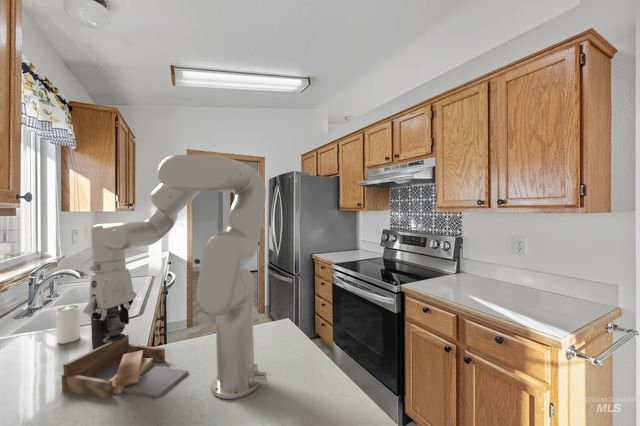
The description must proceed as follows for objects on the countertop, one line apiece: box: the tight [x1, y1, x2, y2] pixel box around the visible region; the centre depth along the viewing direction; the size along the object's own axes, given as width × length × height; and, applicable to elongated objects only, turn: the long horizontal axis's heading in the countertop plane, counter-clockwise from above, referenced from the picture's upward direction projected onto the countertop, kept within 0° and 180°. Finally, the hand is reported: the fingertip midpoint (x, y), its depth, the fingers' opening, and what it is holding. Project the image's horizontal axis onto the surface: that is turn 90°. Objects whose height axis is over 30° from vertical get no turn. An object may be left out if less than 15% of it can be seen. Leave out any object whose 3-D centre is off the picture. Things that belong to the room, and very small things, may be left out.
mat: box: [123, 365, 189, 399], centre depth 80 cm, size 11×11×1 cm
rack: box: [61, 334, 166, 400], centre depth 85 cm, size 16×18×7 cm
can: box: [55, 305, 81, 345], centre depth 107 cm, size 6×6×12 cm
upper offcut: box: [115, 350, 143, 388], centre depth 83 cm, size 5×14×2 cm, turn 27°
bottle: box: [90, 309, 107, 350], centre depth 102 cm, size 7×7×20 cm
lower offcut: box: [109, 358, 154, 394], centre depth 83 cm, size 5×14×2 cm, turn 178°
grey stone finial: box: [103, 306, 127, 343], centre depth 84 cm, size 6×6×12 cm
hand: (113, 327), depth 85 cm, fingers closed on grey stone finial, 5 cm apart
